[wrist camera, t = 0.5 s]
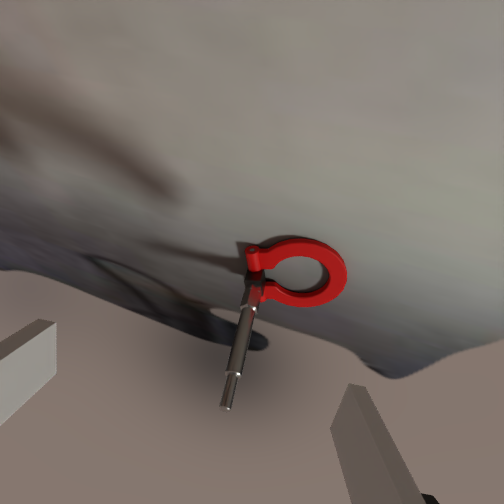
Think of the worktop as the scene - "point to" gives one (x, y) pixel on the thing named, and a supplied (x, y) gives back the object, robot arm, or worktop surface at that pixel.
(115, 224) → the worktop surface
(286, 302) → the tow hook
